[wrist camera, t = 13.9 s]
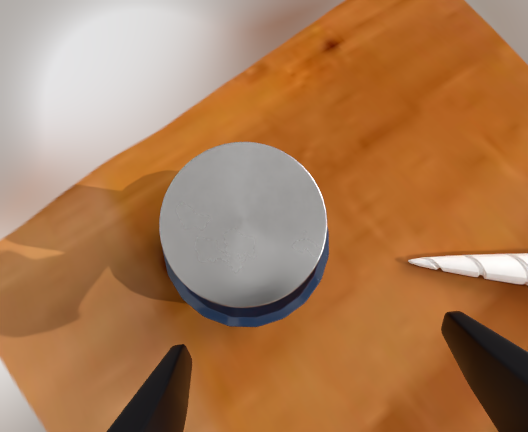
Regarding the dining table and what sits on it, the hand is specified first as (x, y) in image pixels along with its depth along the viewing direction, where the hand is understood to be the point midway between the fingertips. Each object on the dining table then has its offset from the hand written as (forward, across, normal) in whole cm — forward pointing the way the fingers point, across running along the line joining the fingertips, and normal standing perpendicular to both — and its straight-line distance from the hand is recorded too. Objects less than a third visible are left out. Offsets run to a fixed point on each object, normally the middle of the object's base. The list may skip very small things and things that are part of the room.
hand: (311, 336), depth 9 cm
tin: (+12, +4, +4) cm, 13 cm away
